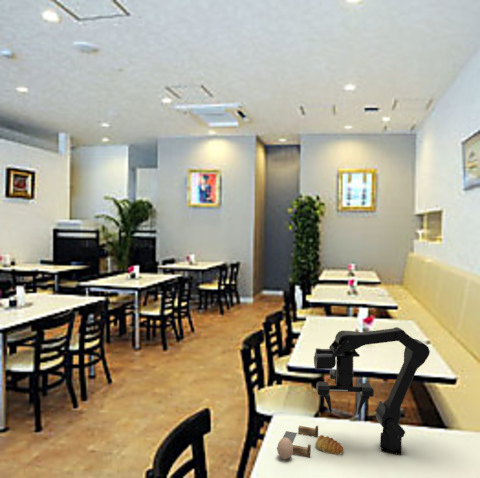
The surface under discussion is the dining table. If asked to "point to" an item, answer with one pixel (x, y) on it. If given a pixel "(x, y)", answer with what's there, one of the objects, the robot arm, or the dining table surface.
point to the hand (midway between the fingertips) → (344, 413)
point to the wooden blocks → (303, 450)
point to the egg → (285, 448)
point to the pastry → (329, 445)
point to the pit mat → (290, 435)
